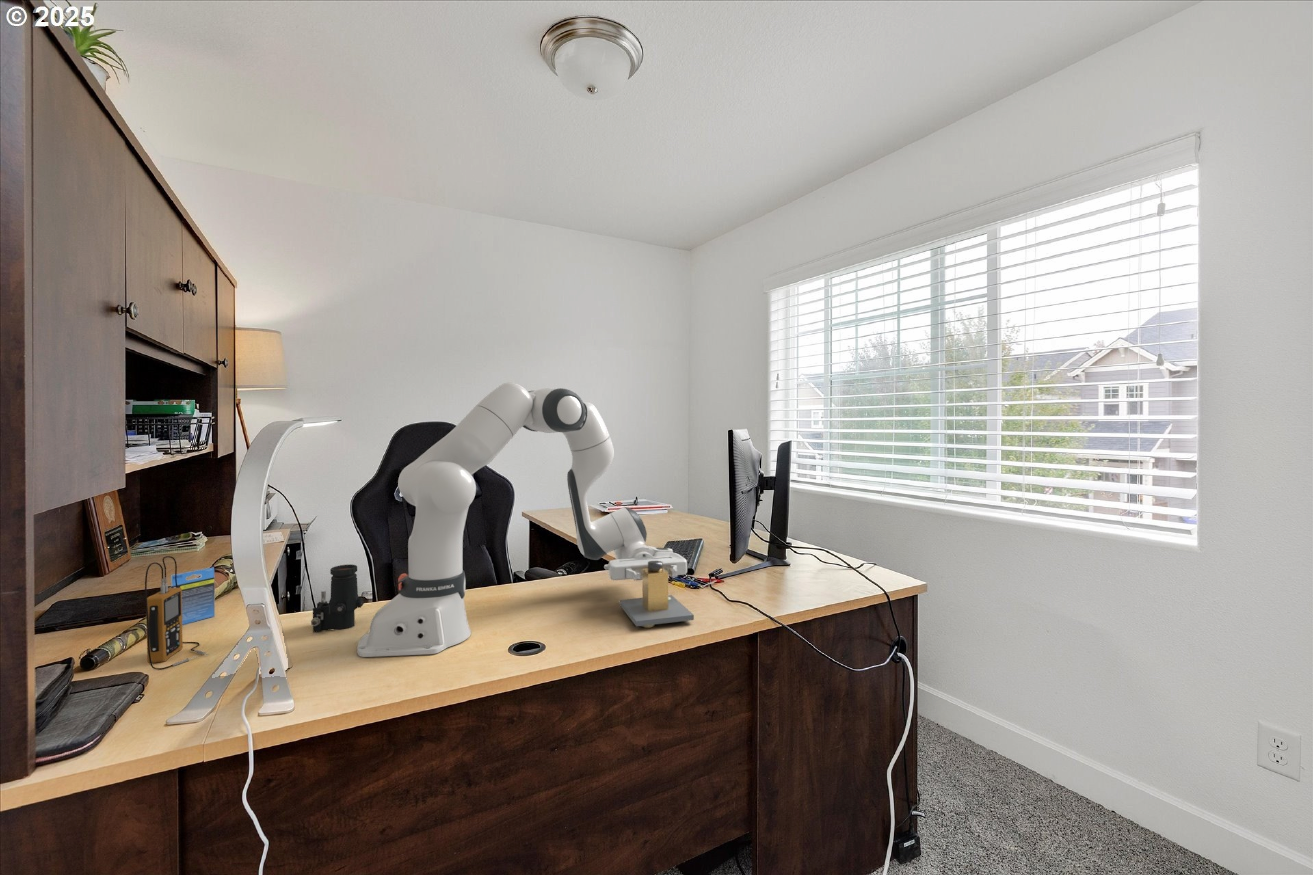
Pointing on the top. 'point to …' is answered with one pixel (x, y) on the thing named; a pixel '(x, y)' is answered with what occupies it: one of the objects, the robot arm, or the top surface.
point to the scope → (338, 601)
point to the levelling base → (655, 612)
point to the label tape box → (196, 594)
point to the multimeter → (164, 622)
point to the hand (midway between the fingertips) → (656, 575)
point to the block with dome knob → (655, 586)
